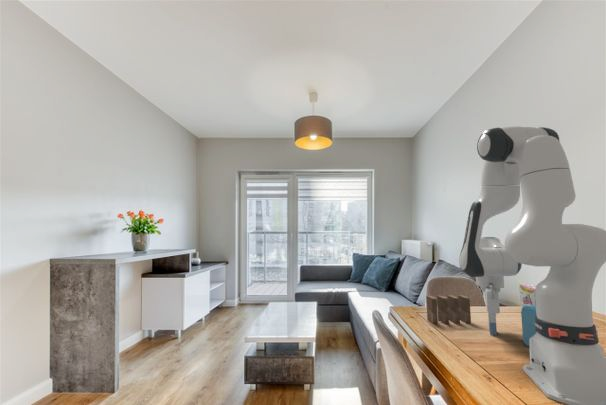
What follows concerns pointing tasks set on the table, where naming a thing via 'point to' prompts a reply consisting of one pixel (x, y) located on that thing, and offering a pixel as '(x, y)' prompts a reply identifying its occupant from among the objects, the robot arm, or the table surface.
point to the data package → (528, 323)
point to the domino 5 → (492, 327)
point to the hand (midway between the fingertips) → (492, 319)
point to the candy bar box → (527, 295)
